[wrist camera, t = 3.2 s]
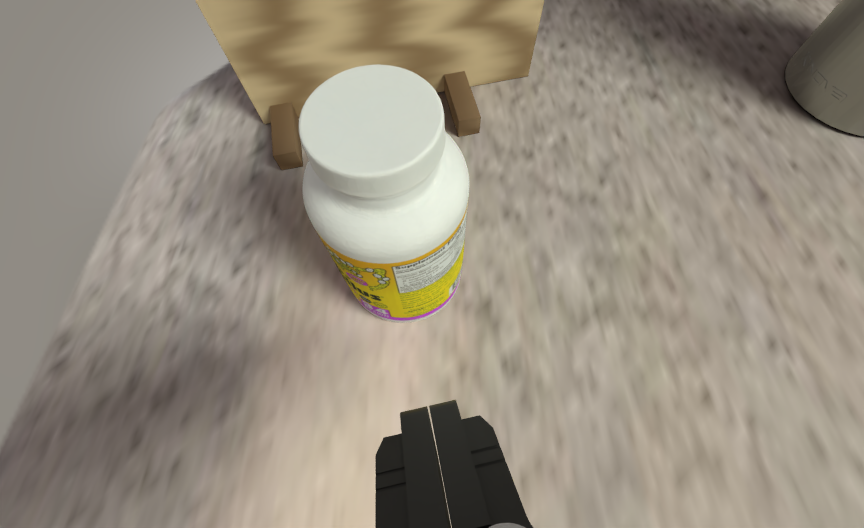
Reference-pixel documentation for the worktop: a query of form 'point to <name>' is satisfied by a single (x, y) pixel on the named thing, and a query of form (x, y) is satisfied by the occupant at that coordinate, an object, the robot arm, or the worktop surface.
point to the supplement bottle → (386, 189)
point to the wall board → (369, 50)
